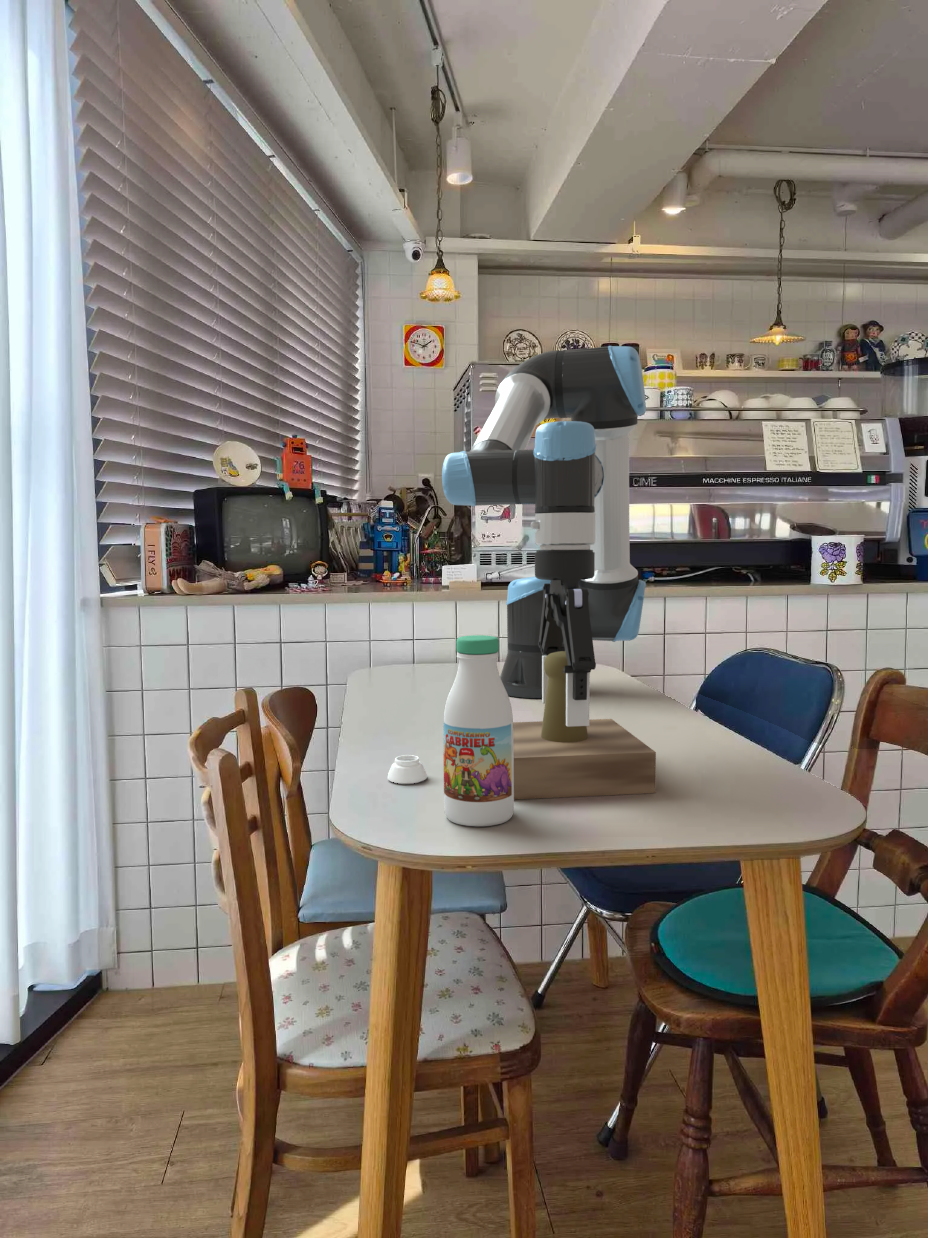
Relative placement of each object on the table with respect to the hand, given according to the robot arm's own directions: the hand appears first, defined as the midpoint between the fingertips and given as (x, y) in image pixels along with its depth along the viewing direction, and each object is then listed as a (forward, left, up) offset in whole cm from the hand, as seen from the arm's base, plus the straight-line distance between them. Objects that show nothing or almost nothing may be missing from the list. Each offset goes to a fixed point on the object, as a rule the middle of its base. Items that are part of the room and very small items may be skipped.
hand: (564, 713), depth 104 cm
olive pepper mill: (0, 0, -3) cm, 3 cm away
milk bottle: (+14, -13, -8) cm, 21 cm away
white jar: (-1, -20, -8) cm, 22 cm away
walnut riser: (0, 0, -8) cm, 8 cm away
